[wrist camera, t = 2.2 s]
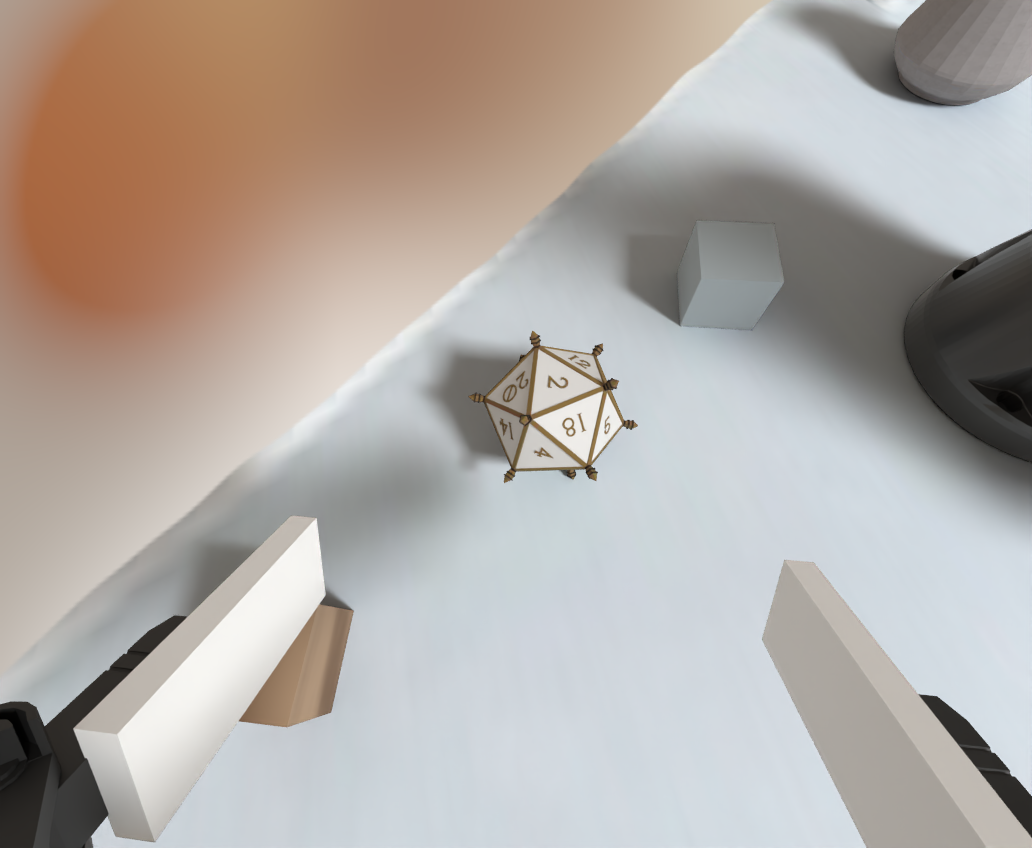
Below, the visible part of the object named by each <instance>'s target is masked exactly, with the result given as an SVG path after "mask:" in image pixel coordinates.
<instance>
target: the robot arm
mask: <svg viewBox="0 0 1032 848" xmlns="http://www.w3.org/2000/svg"><path fill="white" fill-rule="evenodd" d="M905 345H906V351H907V355H908V358H909V361H910V364H911V366H912V368H913V371H914V372H915V374H916V376H917V378H918V380H919V381H920V383H921V385H922V386H923V388H924V389H925V390H926V392H927V393H928V394H929V396H930V397H931V398H932V399H933V400H934V401H935V403H936V404H937V405H938V406H939V407H940V408H941V409H942V410H943V411H944V412H945V413H946V414H947V415H948V416H949V417H951V418H952V419H953V420H954V421H955V422H957V423H958V424H959V425H960V426H962V427H963V428H964V429H966V430H967V431H968V432H970V433H971V434H973V435H974V436H976V437H978V438H979V439H981V440H983V441H984V442H986V443H988V444H990V445H991V446H993V447H995V448H997V449H999V450H1001V451H1004V452H1006V453H1008V454H1011V455H1013V456H1016V457H1018V458H1021V459H1024V460H1027V461H1030V462H1032V229H1031V230H1029V231H1027V232H1025V233H1023V234H1021V235H1019V236H1016V237H1014V238H1012V239H1010V240H1008V241H1006V242H1004V243H1002V244H1000V245H998V246H996V247H994V248H992V249H990V250H988V251H986V252H983V253H982V254H980V255H978V256H976V257H973V258H971V259H969V260H967V261H965V262H963V263H961V264H959V265H957V266H956V267H954V268H952V269H951V270H949V271H948V272H947V273H945V274H944V275H943V276H942V277H941V278H940V279H938V280H937V281H936V282H935V283H934V284H933V285H932V286H931V287H930V288H929V289H927V290H926V291H925V292H924V293H923V294H922V295H921V296H920V297H919V298H918V299H917V300H916V302H915V303H914V304H913V306H912V308H911V310H910V312H909V314H908V317H907V320H906V325H905ZM325 595H326V593H325V585H324V576H323V568H322V560H321V551H320V543H319V535H318V526H317V518H313V517H301V516H290V517H289V518H288V519H287V520H286V521H285V522H284V523H283V524H282V525H281V526H280V527H279V528H278V529H277V530H276V531H275V532H274V533H273V534H272V535H271V536H270V537H269V538H268V539H267V540H266V541H265V542H264V543H263V544H262V545H261V546H260V547H259V548H258V549H257V550H256V551H254V552H253V553H252V554H251V555H250V556H249V557H248V558H247V559H246V560H245V561H244V562H243V563H242V564H241V565H240V566H239V567H238V568H237V569H236V570H235V571H234V572H233V573H232V574H231V575H230V576H229V577H228V578H227V579H226V580H225V581H224V582H223V583H222V584H221V585H220V586H219V587H218V588H217V589H216V590H215V591H214V592H213V593H212V594H211V595H209V596H208V597H207V598H206V599H205V600H204V601H203V602H202V603H201V604H200V605H199V606H198V607H197V608H196V609H195V610H194V611H193V612H192V613H191V614H190V615H189V616H188V617H185V616H176V615H175V616H173V617H171V618H170V619H168V620H166V621H165V622H163V623H161V624H160V625H158V626H156V627H154V628H153V629H151V630H149V631H148V632H147V633H146V634H145V635H144V636H143V637H142V638H140V639H139V640H138V641H137V642H136V643H135V644H134V645H133V646H132V647H131V648H130V649H128V652H127V654H123V655H122V656H121V657H120V658H119V659H118V660H117V661H115V662H114V663H113V664H112V665H111V666H110V669H109V670H108V671H107V670H106V671H105V672H103V673H102V674H101V675H100V676H99V677H98V678H97V679H96V680H95V681H94V682H93V683H92V684H90V685H89V686H88V687H87V688H86V689H85V690H84V691H83V692H82V693H81V694H80V695H78V696H77V697H76V698H75V699H74V700H73V701H72V702H71V703H70V704H69V705H68V706H67V707H65V708H64V709H63V710H62V711H61V712H60V713H59V714H58V715H57V716H56V717H55V718H53V719H52V720H51V721H50V722H49V723H48V724H47V725H46V726H45V727H44V724H43V722H42V720H41V717H40V715H39V712H38V710H37V708H36V707H35V706H33V705H32V704H30V703H28V702H8V703H4V704H0V848H93V844H92V838H91V836H92V834H93V833H94V832H95V831H96V829H97V828H98V827H99V826H100V824H101V823H102V822H103V821H104V819H105V818H106V817H107V816H108V819H109V821H110V824H111V826H112V829H113V831H114V834H115V836H116V837H122V838H128V839H135V840H142V841H149V842H156V840H157V839H158V837H159V836H160V834H161V833H162V831H163V830H164V829H165V827H166V826H167V824H168V823H169V821H170V820H171V818H172V817H173V816H174V814H175V813H176V811H177V810H178V808H179V807H180V805H181V804H182V802H183V801H184V800H185V798H186V797H187V795H188V794H189V792H190V791H191V789H192V788H193V787H194V785H195V784H196V782H197V781H198V779H199V778H200V776H201V775H202V773H203V772H204V771H205V769H206V768H207V766H208V765H209V763H210V762H211V760H212V759H213V758H214V756H215V755H216V753H217V752H218V750H219V749H220V747H221V746H222V744H223V743H224V742H225V740H226V739H227V737H228V736H229V734H230V733H231V731H232V730H233V729H234V727H235V726H236V724H237V723H238V721H239V720H240V718H241V717H242V715H243V714H244V713H245V711H246V710H247V708H248V707H249V705H250V704H251V702H252V701H253V700H254V698H255V697H256V695H257V694H258V692H259V691H260V689H261V688H262V686H263V685H264V684H265V682H266V681H267V679H268V678H269V676H270V675H271V673H272V672H273V671H274V669H275V668H276V666H277V665H278V663H279V662H280V660H281V659H282V657H283V656H284V655H285V653H286V652H287V650H288V649H289V647H290V646H291V644H292V643H293V642H294V640H295V639H296V637H297V636H298V634H299V633H300V631H301V630H302V628H303V627H304V626H305V624H306V623H307V621H308V620H309V618H310V617H311V615H312V614H313V613H314V611H315V610H316V608H317V607H318V605H319V604H320V602H321V601H322V599H323V598H324V597H325ZM762 641H763V643H764V645H765V647H766V649H767V651H768V653H769V655H770V657H771V659H772V661H773V662H774V664H775V666H776V668H777V670H778V672H779V674H780V676H781V678H782V680H783V682H784V684H785V686H786V688H787V690H788V692H789V694H790V696H791V698H792V700H793V702H794V704H795V706H796V708H797V710H798V712H799V714H800V716H801V718H802V720H803V722H804V724H805V726H806V728H807V730H808V732H809V734H810V736H811V738H812V740H813V742H814V744H815V746H816V748H817V750H818V752H819V754H820V756H821V758H822V760H823V762H824V764H825V766H826V768H827V770H828V772H829V774H830V776H831V778H832V780H833V782H834V784H835V786H836V788H837V790H838V792H839V794H840V796H841V798H842V800H843V802H844V804H845V806H846V808H847V810H848V812H849V814H850V816H851V818H852V820H853V822H854V823H855V825H856V827H857V829H858V831H859V833H860V835H861V837H862V839H863V841H864V843H865V845H866V847H867V848H1032V796H1031V795H1030V794H1029V793H1028V791H1027V790H1026V789H1025V788H1024V787H1023V785H1022V784H1021V783H1020V782H1019V781H1018V780H1017V778H1016V777H1013V776H1011V774H1010V770H1009V769H1008V768H1007V767H1006V765H1005V764H1004V763H1003V762H1002V761H1001V760H1000V758H999V757H998V756H997V755H996V754H995V753H992V752H991V750H990V747H989V746H988V744H987V743H986V742H985V741H984V740H983V738H982V737H981V736H980V735H979V734H978V733H977V731H976V730H975V729H974V728H973V727H972V726H971V724H970V723H969V722H968V721H967V720H966V719H965V718H963V717H962V716H961V715H960V714H958V713H957V712H956V711H955V710H953V709H952V708H951V707H950V706H948V705H947V704H946V703H945V702H943V701H942V700H941V699H940V698H938V697H937V696H929V695H920V694H918V693H917V692H916V691H915V690H914V688H913V687H912V686H911V685H910V683H909V682H908V681H907V680H906V678H905V677H904V676H903V675H902V673H901V672H900V671H899V669H898V668H897V667H896V666H895V664H894V663H893V662H892V661H891V659H890V658H889V657H888V656H887V654H886V653H885V652H884V651H883V649H882V648H881V647H880V645H879V644H878V643H877V642H876V640H875V639H874V638H873V637H872V635H871V634H870V633H869V632H868V630H867V629H866V628H865V627H864V625H863V624H862V623H861V621H860V620H859V619H858V618H857V616H856V615H855V614H854V613H853V611H852V610H851V609H850V608H849V606H848V605H847V604H846V603H845V601H844V600H843V599H842V597H841V596H840V595H839V594H838V592H837V591H836V590H835V589H834V587H833V586H832V585H831V584H830V582H829V581H828V580H827V578H826V577H825V576H824V575H823V573H822V572H821V571H820V570H819V568H818V567H817V566H816V565H815V563H814V562H802V561H791V560H784V563H783V566H782V570H781V574H780V577H779V581H778V584H777V588H776V591H775V595H774V598H773V602H772V605H771V609H770V613H769V616H768V620H767V623H766V627H765V630H764V634H763V637H762Z"/></svg>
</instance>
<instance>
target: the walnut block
mask: <svg viewBox="0 0 1032 848" xmlns="http://www.w3.org/2000/svg"><path fill="white" fill-rule="evenodd" d="M353 612H354V611H352V610H347V609H342V608H336V607H331V606H325V605H320V604H319V605H318V607H317V608H316V610H315V611H314V613H313V614H312V615H311V617H310V618H309V620H308V621H307V623H306V624H305V626H304V627H303V628H302V630H301V631H300V633H299V634H298V636H297V637H296V639H295V640H294V642H293V643H292V644H291V646H290V647H289V649H288V650H287V652H286V653H285V655H284V656H283V657H282V659H281V660H280V662H279V663H278V665H277V666H276V668H275V669H274V671H273V672H272V673H271V675H270V676H269V678H268V679H267V681H266V682H265V684H264V685H263V686H262V688H261V689H260V691H259V692H258V694H257V695H256V697H255V698H254V700H253V701H252V702H251V704H250V705H249V707H248V708H247V710H246V711H245V713H244V714H243V715H242V717H241V718H240V720H239V721H241V722H249V723H257V724H265V725H273V726H281V727H289V726H292V725H295V724H298V723H301V722H304V721H307V720H310V719H313V718H316V717H319V716H322V715H325V714H328V713H331V710H332V706H333V701H334V697H335V693H336V688H337V684H338V679H339V675H340V670H341V666H342V661H343V657H344V652H345V648H346V643H347V639H348V634H349V630H350V625H351V621H352V616H353Z"/></svg>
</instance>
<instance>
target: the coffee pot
mask: <svg viewBox="0 0 1032 848" xmlns="http://www.w3.org/2000/svg"><path fill="white" fill-rule="evenodd" d="M894 57H895V62H896V65H897V69H898V70H899V72H898V75H899V78H900V81H901V82H902V83H903V85H904V86H905V87H906V88H907V89H908V90H910V91H911V92H912V93H914V94H916V95H917V96H919V97H921V98H923V99H926V100H929V101H932V102H936V103H941V104H946V105H965V104H971V103H974V102H977V101H979V100H981V99H985V98H988V97H991V96H994V95H997V94H1000V93H1003V92H1006V91H1008V90H1010V89H1012V88H1013V87H1015V86H1016V85H1018V84H1019V83H1021V82H1022V81H1024V80H1025V79H1027V78H1028V77H1030V76H1031V75H1032V0H926V1H925V2H924V3H923V4H922V5H921V6H920V7H919V8H918V9H916V10H915V11H914V12H913V13H912V14H911V15H910V16H909V17H908V18H907V19H906V20H905V22H904V23H903V24H902V25H901V26H900V28H899V29H898V32H897V36H896V40H895V46H894Z"/></svg>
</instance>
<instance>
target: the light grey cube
mask: <svg viewBox="0 0 1032 848" xmlns="http://www.w3.org/2000/svg"><path fill="white" fill-rule="evenodd" d="M677 280H678V299H679V318H680V326H685V327H703V328H721V329H739V330H752V329H753V328H754V326H755V325H756V323H757V322H758V320H759V319H760V318H761V316H762V315H763V313H764V312H765V310H766V309H767V307H768V306H769V304H770V303H771V301H772V300H773V299H774V297H775V296H776V294H777V293H778V291H779V290H780V288H781V287H782V285H783V284H784V277H783V271H782V265H781V259H780V254H779V248H778V242H777V236H776V230H775V224H774V223H756V222H731V221H706V220H697V221H696V223H695V226H694V229H693V231H692V234H691V237H690V239H689V242H688V245H687V247H686V250H685V253H684V255H683V258H682V261H681V263H680V266H679V269H678V271H677Z"/></svg>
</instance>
